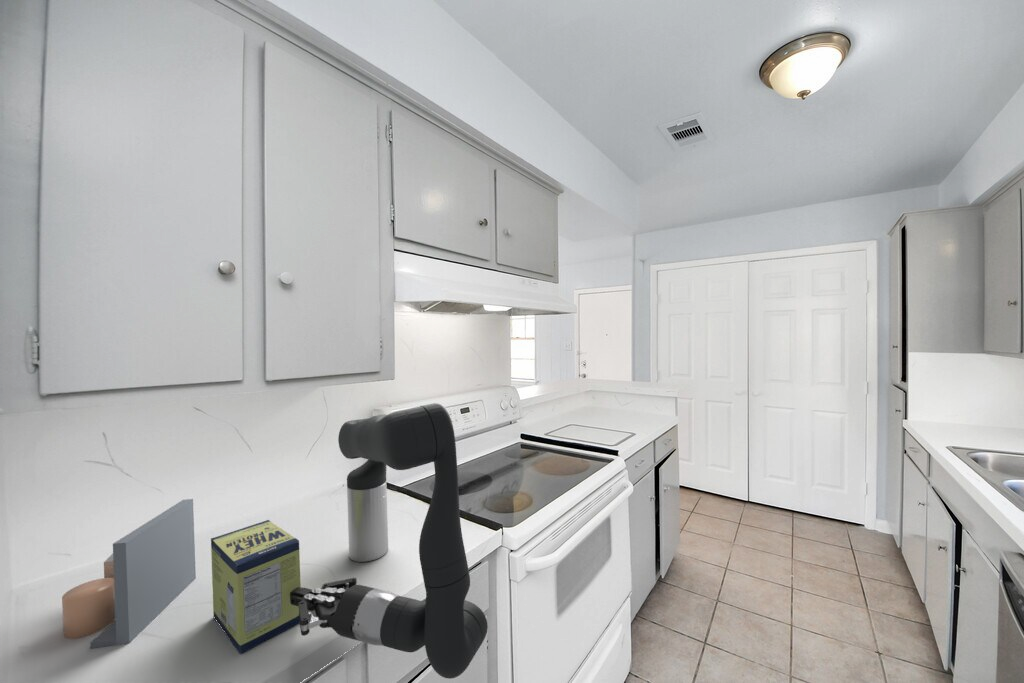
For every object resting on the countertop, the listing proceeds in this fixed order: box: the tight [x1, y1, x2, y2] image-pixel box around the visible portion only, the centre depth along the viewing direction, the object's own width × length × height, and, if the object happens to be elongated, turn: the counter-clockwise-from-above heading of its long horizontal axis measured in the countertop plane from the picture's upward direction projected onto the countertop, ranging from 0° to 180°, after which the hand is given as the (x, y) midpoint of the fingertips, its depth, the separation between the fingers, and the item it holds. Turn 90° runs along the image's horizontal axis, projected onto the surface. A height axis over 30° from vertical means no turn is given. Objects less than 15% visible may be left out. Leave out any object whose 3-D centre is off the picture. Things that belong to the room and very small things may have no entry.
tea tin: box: [103, 553, 114, 579], centre depth 87 cm, size 5×5×9 cm
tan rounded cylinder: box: [61, 577, 116, 640], centre depth 78 cm, size 7×7×7 cm
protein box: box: [210, 519, 302, 654], centre depth 78 cm, size 10×16×16 cm
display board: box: [89, 498, 197, 649], centre depth 82 cm, size 20×6×18 cm, turn 10°
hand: (293, 594), depth 75 cm, fingers closed
